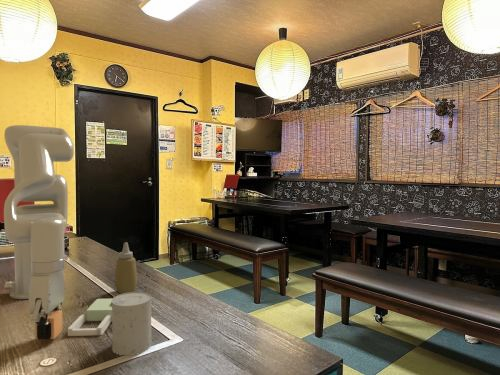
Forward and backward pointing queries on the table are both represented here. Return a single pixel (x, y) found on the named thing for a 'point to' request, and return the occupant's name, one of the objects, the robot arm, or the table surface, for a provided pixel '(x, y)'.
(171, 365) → the table surface
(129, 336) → the speckled stone cylinder
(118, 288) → the squeeze bottle
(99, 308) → the green plate with dome
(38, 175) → the robot arm
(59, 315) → the matte orange cube
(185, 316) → the table surface
